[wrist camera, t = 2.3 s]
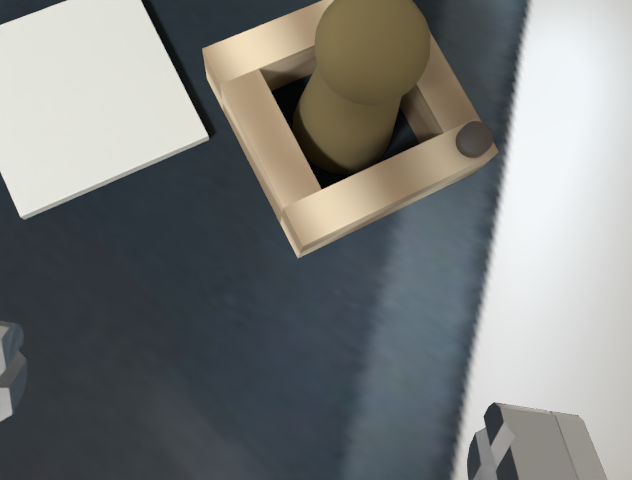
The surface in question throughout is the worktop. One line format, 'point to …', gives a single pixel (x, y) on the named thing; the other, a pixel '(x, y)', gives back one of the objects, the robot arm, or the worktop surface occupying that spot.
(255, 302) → the worktop surface
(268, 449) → the worktop surface
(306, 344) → the worktop surface
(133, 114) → the white mat
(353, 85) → the brown pawn
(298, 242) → the sleeve block
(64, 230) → the worktop surface
